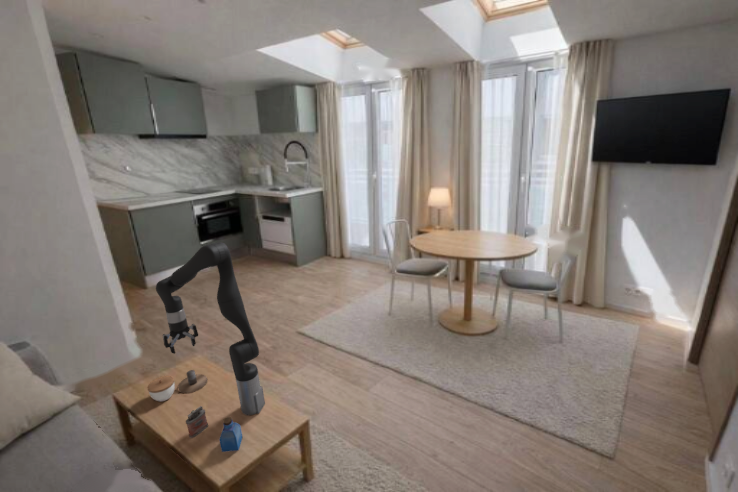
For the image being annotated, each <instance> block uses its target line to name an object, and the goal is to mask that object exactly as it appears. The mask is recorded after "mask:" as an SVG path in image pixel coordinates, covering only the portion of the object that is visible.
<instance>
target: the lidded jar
mask: <svg viewBox="0 0 738 492" xmlns="http://www.w3.org/2000/svg"><path fill="white" fill-rule="evenodd" d="M175 386H176V384H175V378H174V377H173V376H172V375H163V376H159V377H156V378H154V379H153V380H152V381H150V382H149V383H148V385H147V387H146V388H147V391H148V393H149V396H150V398H151V399H153V400H154V401H157V402H165V401H167V400H169V399H170V398H171V397H172V395H173V394H174V392H175V389H176V387H175Z"/></svg>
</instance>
